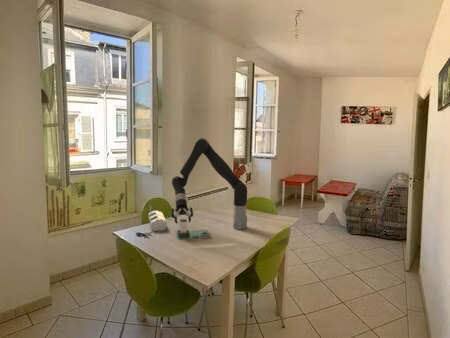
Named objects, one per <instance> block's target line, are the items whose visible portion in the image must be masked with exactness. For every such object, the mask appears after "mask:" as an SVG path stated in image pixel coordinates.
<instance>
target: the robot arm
mask: <svg viewBox="0 0 450 338" xmlns="http://www.w3.org/2000/svg"><path fill="white" fill-rule="evenodd" d="M202 155H204V156H205V157H206V158H207V160H208V161H209V163H210V165H211V166H212V168H213V169H214V170H215V172H216V173H218V175H219V176H220V177H221V178H223V179H224V180H225V181H226V182H227V183H228V184H229V185H230V187H232V189H233V195H234V196H233V218H232V219H233V221H232V228H233V229H234V230H239V231H240V230H245V229H247V227H248V225H247V224H248V215H247V203H248V187H247V185H246V184H245V183H244V182H243V181H242V180H241V179H240V178H239V177H238V176H236V174H235V173H234V171H233V170H232V168H231V167H230V166H229V164H228V163H227V162H226V161H225V160H224V159H223V158H222V157H221V155H219V154H218V153H217V152H216V151H215V149H214V148H213V147H212V146H211V144H210V143H209V141H208V139H206V138H202V137H200V138H198V139H197V140H196V141H195V142H194V146H193V149H192V151H191V152H190V155H189V156H188V158H187V159H186V161H185V162H184V164H183V166H182V167H181V169H180V171H179V173H180V175H182V176H178V175H175V176H173V178H172V179H171V185H172V187H173V190H174V193H175V194H174V195H175V197H174V198H175V208H174V207H172V208H171V218H172V219H174V223H175V224H177V223H178V217H179V215H180V216H186V217H187V218H188V223H191V221H192V217H194V212H193V208H192V207H190V208H188V202H187V201H188V200H187V196H186V189H185V187H186V186H187V183H188V180H189V177H190V175H191V173H192V171H193V170H194V168H195V166H196V163H197V162H198V160H199V158H200V157H201V156H202ZM175 212H176V214H175Z"/></svg>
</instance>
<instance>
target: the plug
mask: <svg viewBox="0 0 450 338" xmlns="http://www.w3.org/2000/svg"><path fill="white" fill-rule="evenodd" d="M187 223H188V222H187V219H186V218H184V219H182V218H181V219H179V230H180V233H187V229H188V225H187Z"/></svg>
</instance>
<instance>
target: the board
mask: <svg viewBox="0 0 450 338" xmlns="http://www.w3.org/2000/svg"><path fill="white" fill-rule="evenodd" d="M174 233H175V237H176V239H177V241H181V240H195V239H212V236H211V234H210V232H209V231H208V229H196V230H195V229H193V230H189V229H188V228H187V233H180V229H177V230H176V231H175V232H174Z"/></svg>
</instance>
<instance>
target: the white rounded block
mask: <svg viewBox="0 0 450 338" xmlns="http://www.w3.org/2000/svg"><path fill="white" fill-rule="evenodd" d="M149 210H150V211H149V213H148V221H149V225H150V228H151V230H152V231H165V230H166V229H167V224H168V223H167V222H168V221H167V220H166V218H165V216H164V214H163V212H162V211H159V210H152V205H150V206H149Z"/></svg>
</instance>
